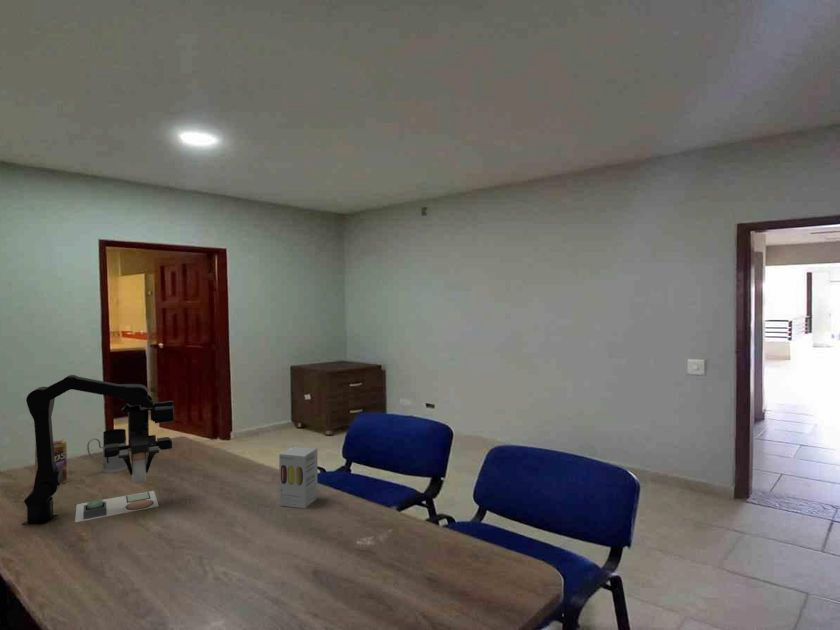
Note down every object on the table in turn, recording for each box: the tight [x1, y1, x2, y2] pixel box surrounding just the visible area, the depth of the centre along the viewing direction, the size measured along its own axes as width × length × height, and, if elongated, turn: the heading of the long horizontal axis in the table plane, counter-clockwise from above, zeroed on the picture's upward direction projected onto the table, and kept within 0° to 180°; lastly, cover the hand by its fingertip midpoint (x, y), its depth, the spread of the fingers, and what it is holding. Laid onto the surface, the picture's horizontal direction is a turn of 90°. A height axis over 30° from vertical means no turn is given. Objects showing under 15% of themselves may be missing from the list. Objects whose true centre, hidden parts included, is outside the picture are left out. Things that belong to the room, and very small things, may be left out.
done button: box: [86, 499, 103, 510], centre depth 155 cm, size 4×4×2 cm
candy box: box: [34, 439, 68, 485], centre depth 182 cm, size 9×4×15 cm, turn 134°
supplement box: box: [278, 446, 318, 509], centre depth 165 cm, size 10×9×17 cm
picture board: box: [74, 490, 160, 523], centre depth 162 cm, size 22×16×1 cm
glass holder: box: [86, 428, 128, 474], centre depth 197 cm, size 9×14×15 cm, turn 148°
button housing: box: [83, 501, 106, 519], centre depth 155 cm, size 6×6×2 cm
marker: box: [130, 453, 147, 484], centre depth 162 cm, size 4×4×10 cm
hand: (139, 473), depth 162 cm, fingers closed on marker, 4 cm apart
